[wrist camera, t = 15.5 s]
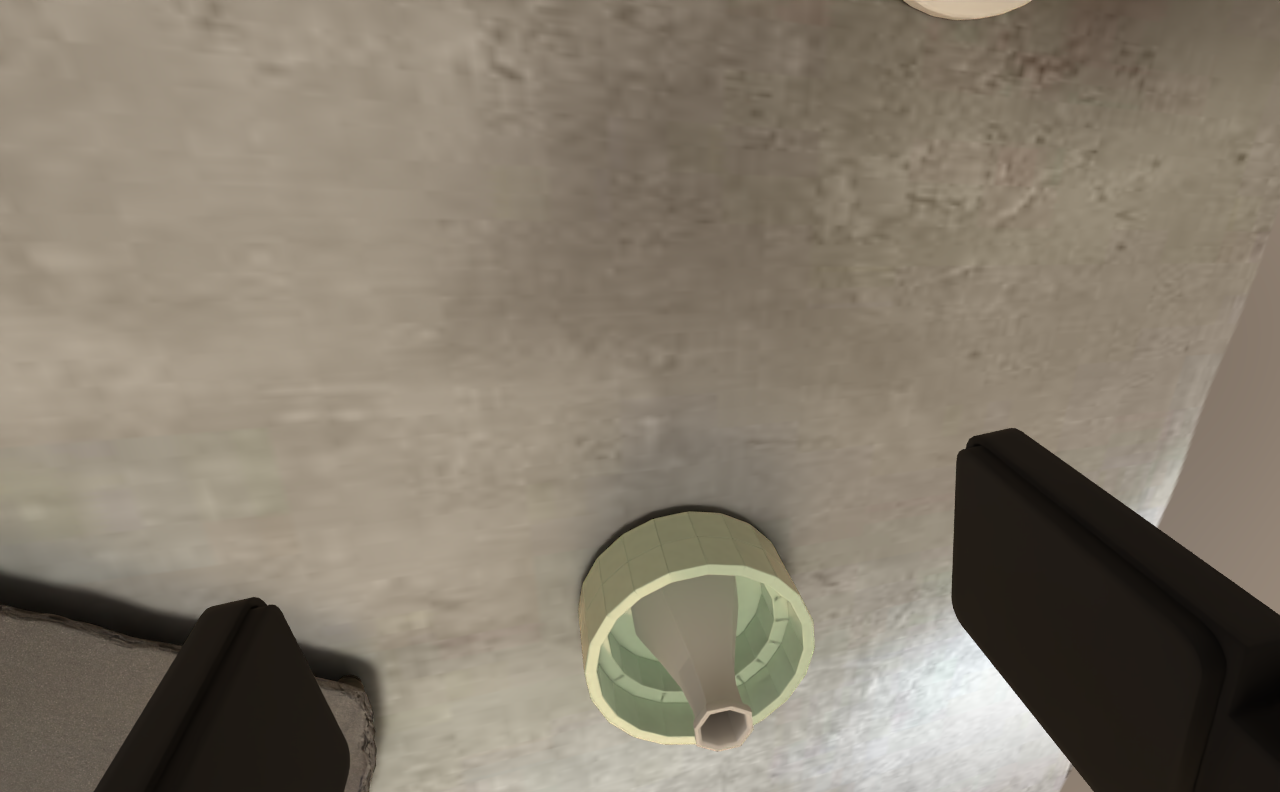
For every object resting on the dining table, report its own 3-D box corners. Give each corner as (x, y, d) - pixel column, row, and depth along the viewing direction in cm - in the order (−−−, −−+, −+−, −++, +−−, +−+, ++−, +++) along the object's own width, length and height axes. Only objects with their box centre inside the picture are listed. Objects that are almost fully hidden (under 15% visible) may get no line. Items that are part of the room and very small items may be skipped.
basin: (773, 484, 43) (808, 541, 38) (786, 645, 49) (818, 715, 44) (559, 530, 42) (565, 595, 37) (597, 689, 48) (607, 766, 43)
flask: (750, 556, 44) (808, 677, 35) (724, 645, 47) (772, 779, 38) (639, 549, 43) (670, 674, 34) (619, 641, 45) (642, 780, 36)
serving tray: (-376, 800, 40) (-523, 917, 34) (-373, 473, 33) (-555, 552, 28) (316, 894, 52) (291, 992, 46) (425, 667, 45) (411, 750, 39)
